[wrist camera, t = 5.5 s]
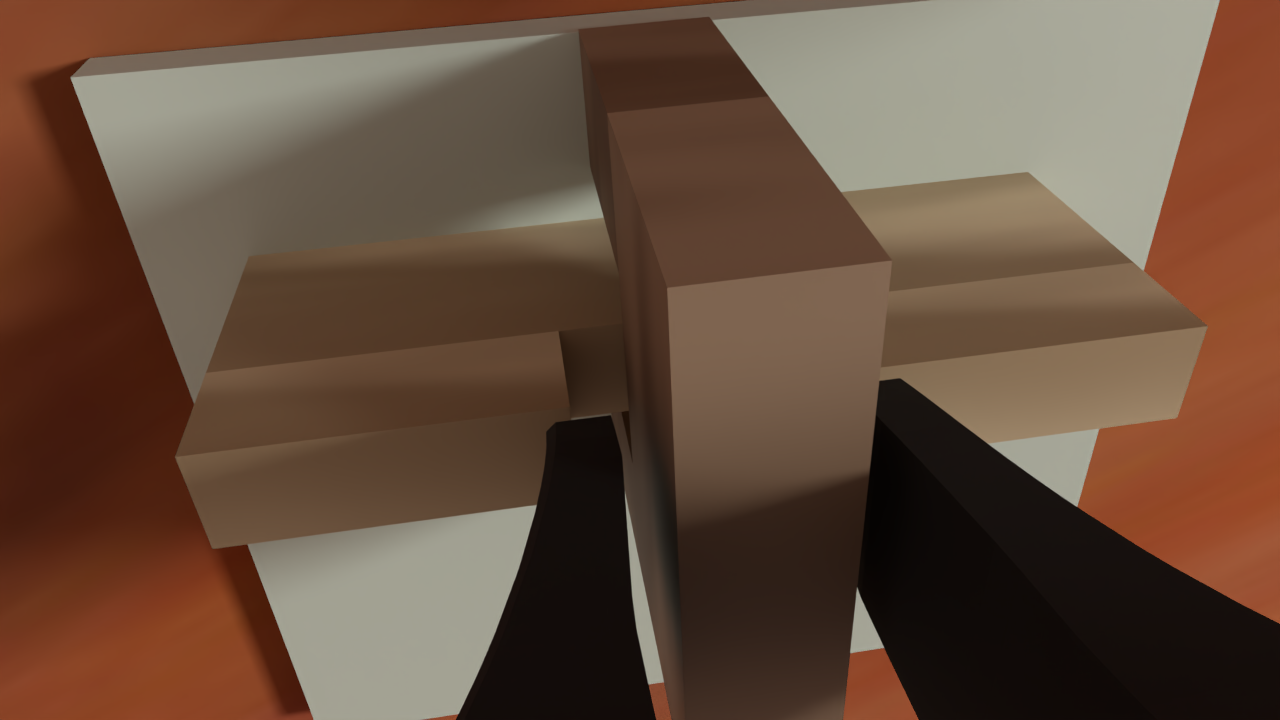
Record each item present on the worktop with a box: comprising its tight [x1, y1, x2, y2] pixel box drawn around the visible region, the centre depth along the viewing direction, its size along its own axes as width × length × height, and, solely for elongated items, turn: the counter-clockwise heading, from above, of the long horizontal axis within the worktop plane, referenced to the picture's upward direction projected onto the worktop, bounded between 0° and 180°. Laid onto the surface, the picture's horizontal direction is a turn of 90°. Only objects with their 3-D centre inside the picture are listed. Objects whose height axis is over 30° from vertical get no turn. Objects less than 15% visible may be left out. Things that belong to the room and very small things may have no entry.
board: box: [70, 0, 1220, 720], centre depth 18 cm, size 14×16×1 cm
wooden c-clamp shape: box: [578, 17, 892, 720], centre depth 13 cm, size 7×2×7 cm, turn 3°
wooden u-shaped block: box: [175, 172, 1208, 549], centre depth 14 cm, size 1×12×5 cm, turn 93°
